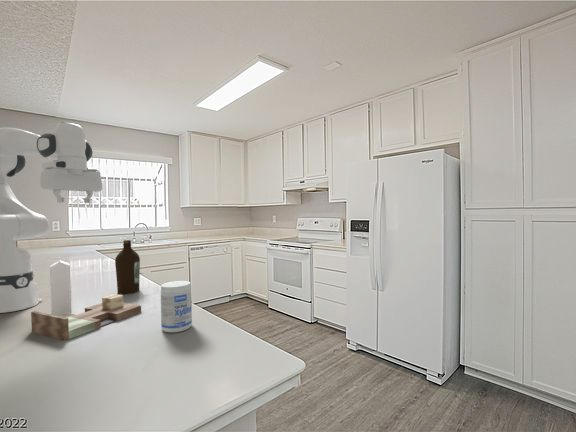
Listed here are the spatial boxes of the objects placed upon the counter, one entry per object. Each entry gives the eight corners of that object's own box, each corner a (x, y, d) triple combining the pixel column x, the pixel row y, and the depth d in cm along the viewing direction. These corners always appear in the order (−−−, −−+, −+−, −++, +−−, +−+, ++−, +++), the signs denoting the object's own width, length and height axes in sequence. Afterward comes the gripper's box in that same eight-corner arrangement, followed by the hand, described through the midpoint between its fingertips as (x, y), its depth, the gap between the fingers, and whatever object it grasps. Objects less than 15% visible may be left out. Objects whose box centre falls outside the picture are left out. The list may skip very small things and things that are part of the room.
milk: (51, 318, 110) (48, 259, 110) (52, 314, 115) (49, 257, 114) (72, 314, 114) (69, 257, 113) (71, 310, 119) (69, 255, 118)
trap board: (31, 331, 98) (31, 312, 98) (109, 306, 123) (109, 290, 123) (65, 340, 91) (64, 319, 91) (141, 311, 115) (140, 295, 115)
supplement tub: (179, 335, 93) (178, 288, 93) (154, 332, 96) (153, 286, 95) (198, 323, 102) (196, 281, 102) (174, 321, 105) (173, 279, 105)
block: (102, 308, 113) (102, 297, 113) (114, 304, 118) (114, 294, 118) (111, 309, 111) (110, 298, 111) (123, 305, 116) (123, 295, 116)
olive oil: (112, 295, 139) (111, 242, 139) (120, 289, 149) (118, 239, 149) (137, 293, 141) (135, 241, 141) (143, 288, 152) (141, 239, 151)
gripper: (94, 169, 124) (96, 203, 124) (36, 163, 105) (38, 202, 105) (105, 168, 121) (106, 202, 121) (47, 161, 102) (49, 201, 103)
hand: (74, 202), depth 113 cm, fingers open, 8 cm apart
